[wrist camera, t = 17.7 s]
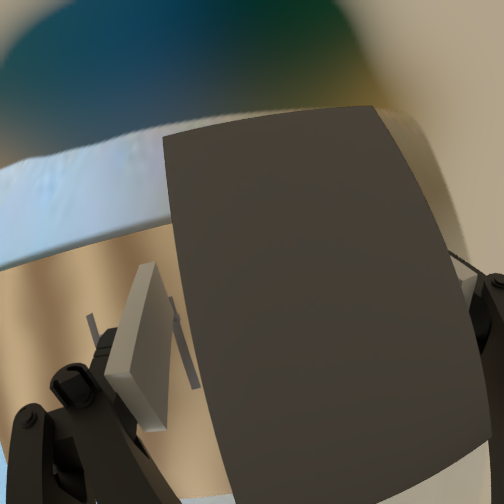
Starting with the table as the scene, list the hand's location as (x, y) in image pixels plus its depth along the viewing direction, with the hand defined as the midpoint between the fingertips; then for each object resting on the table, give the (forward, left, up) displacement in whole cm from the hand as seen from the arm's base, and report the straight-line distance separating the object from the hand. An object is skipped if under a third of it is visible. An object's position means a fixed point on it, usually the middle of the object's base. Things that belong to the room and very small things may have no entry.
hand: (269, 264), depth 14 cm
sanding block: (+3, -2, -3) cm, 5 cm away
